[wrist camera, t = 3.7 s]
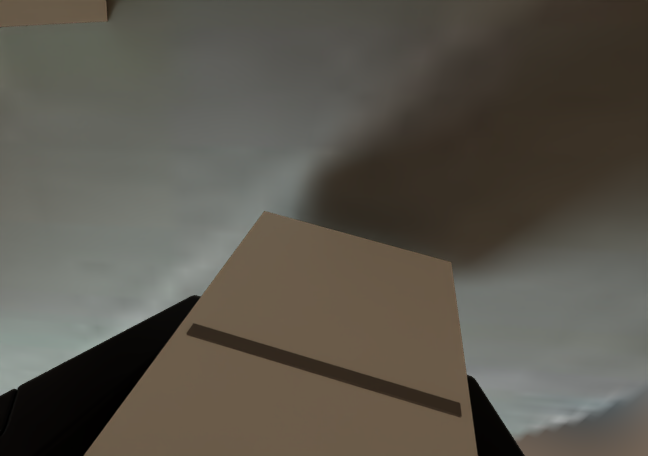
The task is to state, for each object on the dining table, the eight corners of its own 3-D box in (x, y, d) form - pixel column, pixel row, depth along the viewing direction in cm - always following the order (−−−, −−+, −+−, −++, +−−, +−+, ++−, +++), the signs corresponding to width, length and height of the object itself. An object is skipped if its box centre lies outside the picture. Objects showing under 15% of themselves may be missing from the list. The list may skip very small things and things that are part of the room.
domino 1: (425, 320, 11) (445, 988, 4) (256, 272, 12) (-52, 785, 4) (451, 260, 10) (558, 1017, 3) (264, 209, 11) (-130, 739, 3)
